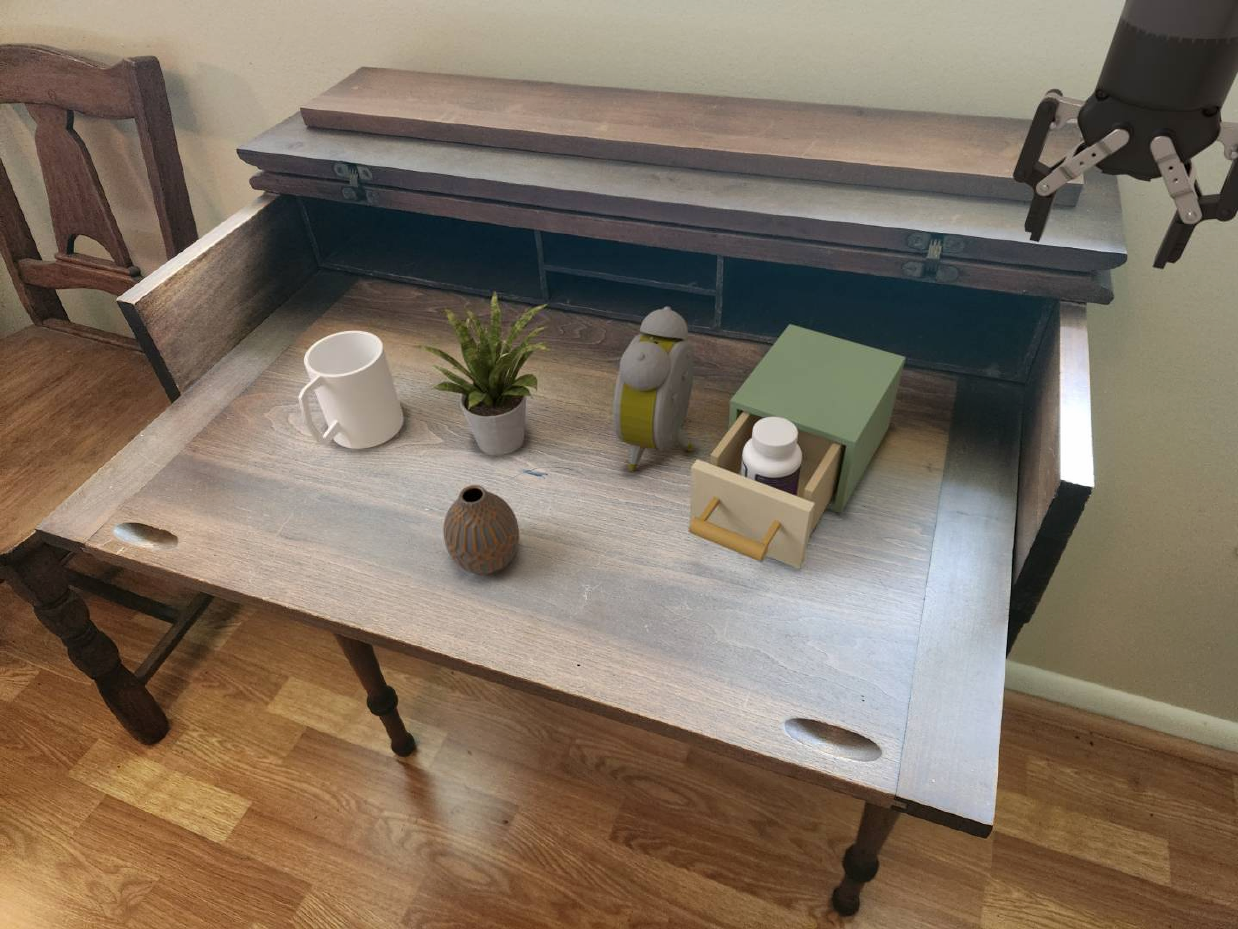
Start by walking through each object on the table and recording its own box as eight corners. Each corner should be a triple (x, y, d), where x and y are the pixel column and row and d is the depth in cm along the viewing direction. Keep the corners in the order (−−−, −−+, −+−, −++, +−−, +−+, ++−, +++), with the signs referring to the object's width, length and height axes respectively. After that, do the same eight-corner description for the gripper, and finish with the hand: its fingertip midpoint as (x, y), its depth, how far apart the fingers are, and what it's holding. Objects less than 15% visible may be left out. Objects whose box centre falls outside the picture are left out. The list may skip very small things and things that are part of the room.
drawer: (779, 604, 73) (788, 547, 68) (666, 556, 78) (666, 498, 72) (851, 478, 84) (864, 420, 79) (748, 442, 89) (753, 384, 83)
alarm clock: (650, 406, 95) (647, 293, 85) (707, 418, 93) (712, 303, 83) (614, 474, 87) (606, 359, 77) (676, 488, 85) (677, 372, 75)
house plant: (596, 413, 94) (587, 289, 83) (545, 496, 85) (526, 369, 74) (486, 388, 99) (462, 267, 87) (425, 465, 89) (390, 340, 78)
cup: (293, 460, 91) (262, 388, 84) (359, 395, 99) (336, 324, 92) (354, 479, 88) (327, 406, 81) (417, 410, 96) (397, 339, 89)
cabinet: (840, 514, 82) (856, 442, 75) (725, 470, 87) (730, 400, 80) (888, 428, 91) (905, 356, 84) (781, 393, 96) (789, 323, 89)
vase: (498, 519, 83) (484, 456, 77) (537, 560, 79) (526, 496, 73) (438, 554, 80) (419, 491, 74) (475, 598, 76) (458, 535, 70)
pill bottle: (806, 506, 80) (818, 431, 73) (768, 535, 78) (778, 460, 71) (764, 477, 83) (772, 403, 76) (726, 504, 81) (731, 430, 74)
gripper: (1055, 17, 52) (986, 250, 63) (1328, 47, 46) (1198, 298, 57) (1077, -15, 56) (1009, 209, 67) (1328, 10, 51) (1208, 249, 62)
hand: (1096, 250), depth 62 cm, fingers open, 8 cm apart
